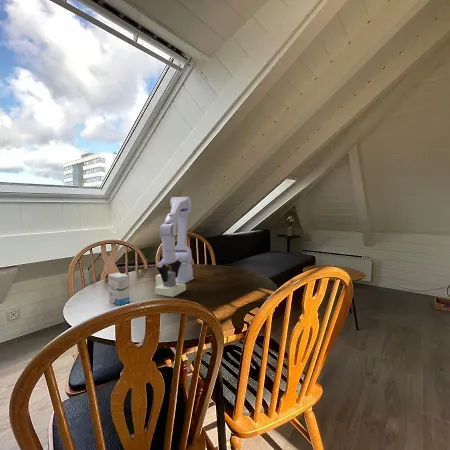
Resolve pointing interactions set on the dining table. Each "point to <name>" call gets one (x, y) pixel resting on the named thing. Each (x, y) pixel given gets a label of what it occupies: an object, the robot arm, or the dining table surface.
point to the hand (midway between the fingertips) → (170, 279)
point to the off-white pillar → (158, 280)
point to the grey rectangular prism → (170, 280)
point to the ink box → (118, 288)
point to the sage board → (170, 289)
